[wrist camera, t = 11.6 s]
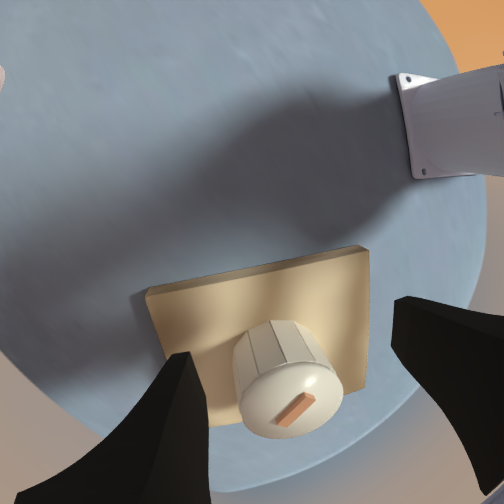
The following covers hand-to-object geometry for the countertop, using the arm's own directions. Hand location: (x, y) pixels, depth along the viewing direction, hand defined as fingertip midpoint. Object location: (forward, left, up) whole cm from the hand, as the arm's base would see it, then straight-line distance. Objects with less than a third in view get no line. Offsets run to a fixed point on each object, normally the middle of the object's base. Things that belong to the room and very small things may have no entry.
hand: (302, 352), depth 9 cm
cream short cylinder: (0, +6, -8) cm, 10 cm away
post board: (0, +6, -9) cm, 11 cm away
